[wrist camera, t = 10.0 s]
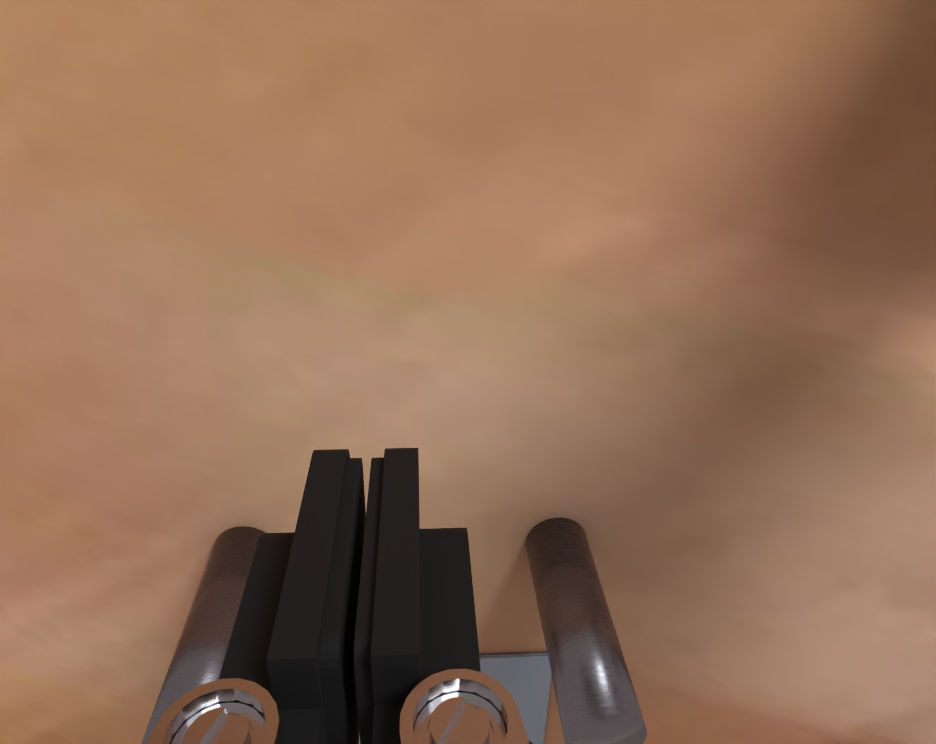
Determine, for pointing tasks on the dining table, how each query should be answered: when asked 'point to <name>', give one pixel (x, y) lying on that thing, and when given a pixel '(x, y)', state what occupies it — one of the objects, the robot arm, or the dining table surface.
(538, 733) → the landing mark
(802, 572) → the dining table surface
